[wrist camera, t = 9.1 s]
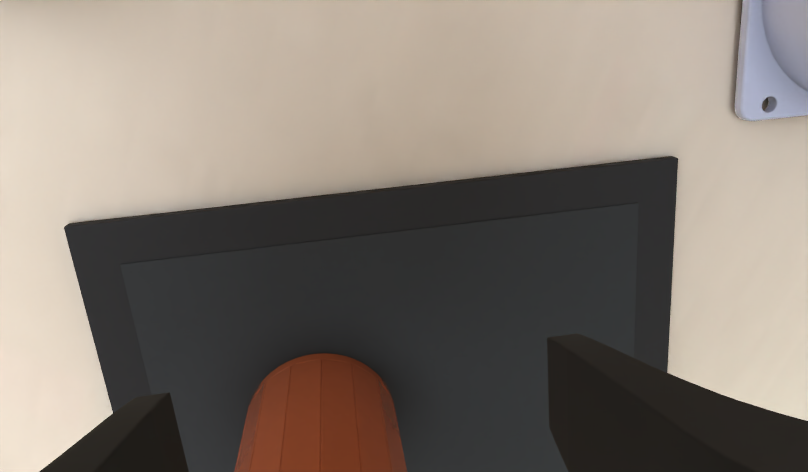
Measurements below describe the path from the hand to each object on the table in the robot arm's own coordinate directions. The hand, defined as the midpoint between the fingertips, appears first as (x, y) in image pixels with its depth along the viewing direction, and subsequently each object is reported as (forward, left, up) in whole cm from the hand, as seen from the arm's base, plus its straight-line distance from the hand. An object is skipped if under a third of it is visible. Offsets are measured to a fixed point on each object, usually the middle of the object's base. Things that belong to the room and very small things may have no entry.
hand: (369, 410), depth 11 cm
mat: (-1, +5, -9) cm, 11 cm away
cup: (+2, +6, -9) cm, 11 cm away
